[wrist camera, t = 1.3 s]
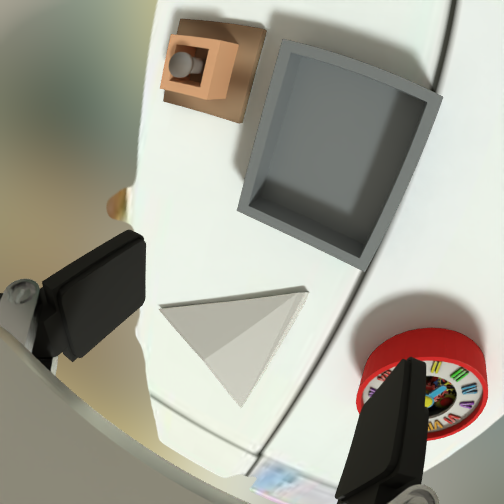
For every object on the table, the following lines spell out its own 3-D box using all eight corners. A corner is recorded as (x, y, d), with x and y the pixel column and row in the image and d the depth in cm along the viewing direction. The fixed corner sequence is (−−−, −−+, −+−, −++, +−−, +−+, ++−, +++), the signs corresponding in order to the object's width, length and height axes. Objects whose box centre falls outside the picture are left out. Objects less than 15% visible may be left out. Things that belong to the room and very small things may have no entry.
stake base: (185, 19, 33) (150, 13, 27) (267, 30, 30) (239, 19, 24) (167, 100, 39) (133, 105, 34) (242, 122, 36) (212, 128, 31)
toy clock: (417, 452, 40) (330, 404, 43) (421, 426, 45) (340, 377, 48) (512, 397, 28) (423, 330, 31) (508, 368, 33) (424, 301, 36)
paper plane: (362, 351, 43) (356, 370, 40) (249, 396, 61) (239, 410, 58) (245, 219, 43) (229, 230, 40) (161, 306, 61) (148, 317, 57)
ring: (191, 37, 33) (171, 34, 29) (238, 44, 31) (220, 40, 28) (180, 87, 37) (159, 88, 33) (225, 98, 35) (206, 99, 32)
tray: (297, 45, 29) (282, 38, 26) (437, 97, 25) (443, 96, 22) (253, 199, 40) (236, 210, 37) (369, 253, 37) (364, 271, 33)
